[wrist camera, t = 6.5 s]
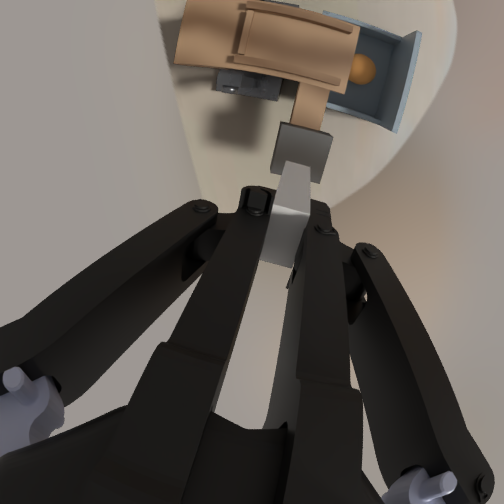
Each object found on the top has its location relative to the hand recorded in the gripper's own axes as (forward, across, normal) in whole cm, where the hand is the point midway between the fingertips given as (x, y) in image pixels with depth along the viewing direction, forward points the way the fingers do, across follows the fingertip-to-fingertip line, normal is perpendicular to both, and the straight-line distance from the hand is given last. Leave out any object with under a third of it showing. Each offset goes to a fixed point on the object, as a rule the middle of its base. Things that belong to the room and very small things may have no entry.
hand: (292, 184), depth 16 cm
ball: (+18, +5, +10) cm, 21 cm away
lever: (+16, -6, +6) cm, 18 cm away
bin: (+21, +4, +10) cm, 23 cm away
